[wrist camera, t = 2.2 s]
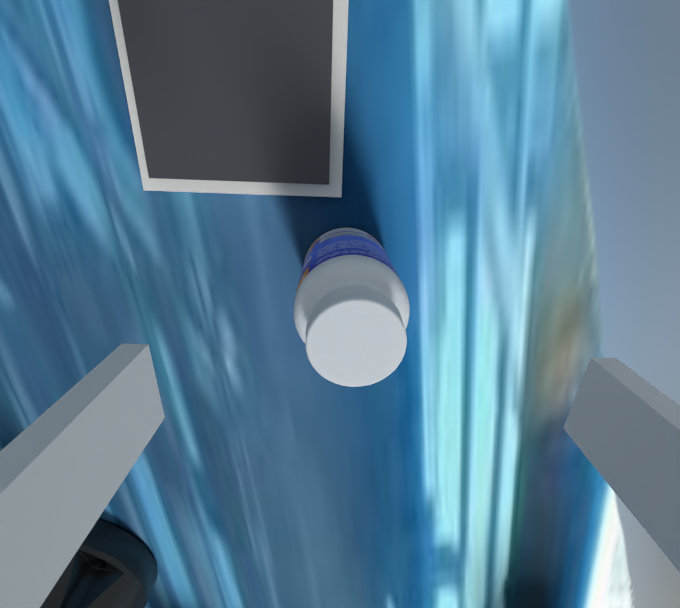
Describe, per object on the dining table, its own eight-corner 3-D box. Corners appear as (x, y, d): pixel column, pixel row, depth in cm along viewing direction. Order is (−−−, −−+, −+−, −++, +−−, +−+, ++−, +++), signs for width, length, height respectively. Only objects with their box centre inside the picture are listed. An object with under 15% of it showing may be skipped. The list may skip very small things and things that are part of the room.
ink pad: (152, 188, 20) (138, 191, 19) (108, -66, 16) (84, -88, 14) (341, 195, 20) (341, 198, 19) (349, -53, 16) (351, -74, 14)
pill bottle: (295, 234, 21) (267, 293, 12) (382, 218, 21) (417, 266, 12) (314, 313, 23) (301, 411, 14) (392, 299, 23) (429, 390, 14)
